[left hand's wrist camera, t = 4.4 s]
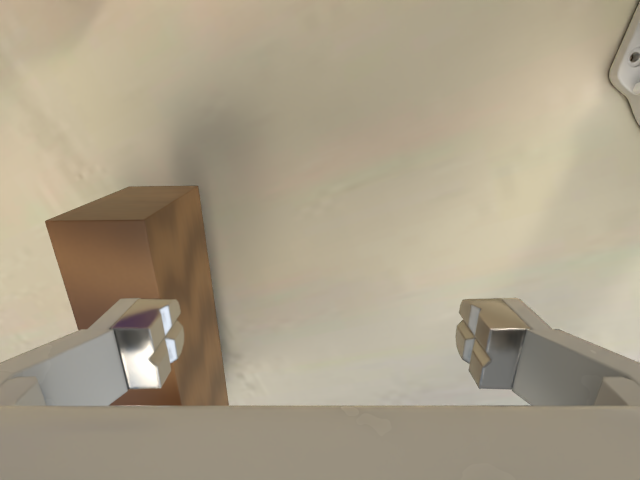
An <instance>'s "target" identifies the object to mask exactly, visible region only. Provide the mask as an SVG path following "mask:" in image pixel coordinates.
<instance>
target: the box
mask: <svg viewBox="0 0 640 480" xmlns="http://www.w3.org/2000/svg"><path fill="white" fill-rule="evenodd" d="M45 223H46V226H47V230H48V233H49V236H50V239H51V243H52V246H53V249H54V252H55V256H56V259H57V262H58V265H59V268H60V272H61V275H62V278H63V281H64V285H65V288H66V291H67V294H68V298H69V301H70V304H71V307H72V310H73V314H74V317H75V320H76V323H77V327H78V330H81V329H88V328H89V327H90V326H91V325H92V324H94V323H95V322H96V321H97V320H98V319H99V318H100V317H101V316H102V315H103V314H104V313H105V312H107V311H108V310H109V309H110V308H111V307H112V306H113V305H114V304H115V303H116V302H117V301H119V300H120V299H124V298H141V299H142V298H151V299H176V300H177V301H178V302H179V305H180V310H181V314H180V315H179V317H178V318H177V320H178V321H179V322H180V323H181V324H182V326H183V328H184V345H183V349H182V352H181V354H180V356H179V358H178V359H177V360H176V361H174V362H173V363H171V364H170V366H171V372H170V374H169V375H168V377H167V379H166V380H165V382H164V384H163V386H162V387H161V388H156V389H128V391H127V392H126V393H125V394H123V395H122V396H121V397H119V398H118V399H117V400H115V401H114V402H113V403H111V404H110V405H109V406H229V403H228V396H227V389H226V382H225V374H224V367H223V360H222V353H221V346H220V339H219V331H218V324H217V317H216V310H215V303H214V296H213V289H212V281H211V274H210V267H209V260H208V253H207V246H206V239H205V231H204V224H203V217H202V210H201V203H200V196H199V188H198V186H140V187H127V188H125V189H122V190H120V191H117V192H115V193H112V194H110V195H107V196H105V197H103V198H100V199H98V200H95V201H93V202H90V203H88V204H85V205H83V206H81V207H78V208H76V209H73V210H71V211H68V212H66V213H63V214H61V215H59V216H56V217H54V218H51V219H49V220H46V221H45Z"/></svg>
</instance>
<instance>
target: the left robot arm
mask: <svg viewBox="0 0 640 480" xmlns="http://www.w3.org/2000/svg"><path fill="white" fill-rule="evenodd" d="M632 54H633V59H632V61H630V56H631V55H632ZM609 79H610V81H611V83H612V84H613V86H614V87H615V88H616V89H617V90H619V91H620V92H621V93H622V94H623V95H625V96H626V97H627V99H628V101H629V103H630V105H631V108H632V111H633V114H634V117H635V119H636V121H637V123H638V124H639V126H640V2H639V4H638V6H637V9H636V11H635V13H634V15H633V18H632V20H631V22H630V25H629V27H628V29H627V31H626V34H625V36H624V38H623V41H622V43H621V45H620V48H619V50H618V52H617V54H616V57H615V59H614V61H613V64H612V66H611V68H610V71H609ZM180 314H181V310H180V305H179V302H178V301H177V300H176V299H151V298H142V299H141V298H124V299H120V300H119V301H117V302H116V303H115V304H114V305H113V306H112V307H111V308H110V309H109V310H108V311H107V312H105V313H104V314H103V315H102V316H101V317H100V318H99V319H98V320H97V321H96V322H95V323H94V324H92V325H91V326H90V327H89V328H88V329H81V330H79V331H76V332H74V333H71V334H69V335H67V336H64V337H62V338H59V339H57V340H54V341H52V342H50V343H47V344H45V345H42V346H40V347H37V348H35V349H33V350H30V351H28V352H25V353H23V354H20V355H18V356H16V357H13V358H11V359H8V360H6V361H4V362H1V363H0V480H640V363H639V362H636V361H634V360H631V359H629V358H627V357H624V356H622V355H619V354H617V353H615V352H612V351H610V350H607V349H605V348H602V347H600V346H598V345H595V344H593V343H590V342H588V341H586V340H583V339H581V338H578V337H576V336H573V335H571V334H569V333H566V332H564V331H561V330H559V329H552V328H551V327H550V326H549V325H548V324H546V323H545V322H544V321H543V320H542V319H541V318H540V317H539V316H538V315H537V314H536V313H535V312H534V311H532V310H531V309H530V308H529V307H528V306H527V305H526V304H525V303H524V302H523V301H522V300H521V299H518V298H494V299H465V300H462V302H461V305H460V310H459V314H460V315H461V317H462V318H463V320H462V321H461V322H460V323H459V324H458V325H457V329H456V346H457V349H458V352H459V354H460V356H461V358H462V359H463V360H464V361H466V362H467V363H469V364H470V366H469V372H470V374H471V375H472V377H473V379H474V380H475V382H476V384H477V386H478V387H479V388H483V389H512V391H513V392H514V393H516V394H517V395H518V396H520V397H521V398H522V399H524V400H525V401H526V402H528V403H529V404H530V405H532V406H109V405H110V404H111V403H113V402H114V401H115V400H117V399H118V398H119V397H121V396H122V395H123V394H125V393H126V392H127V391H128V389H156V388H161V387H162V386H163V384H164V382H165V380H166V379H167V377H168V375H169V374H170V372H171V366H170V364H171V363H173V362H174V361H176V360H177V359H178V358H179V356H180V354H181V352H182V349H183V345H184V328H183V326H182V324H181V323H180V322H179V321H178V320H177V318H178V317H179V315H180Z"/></svg>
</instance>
